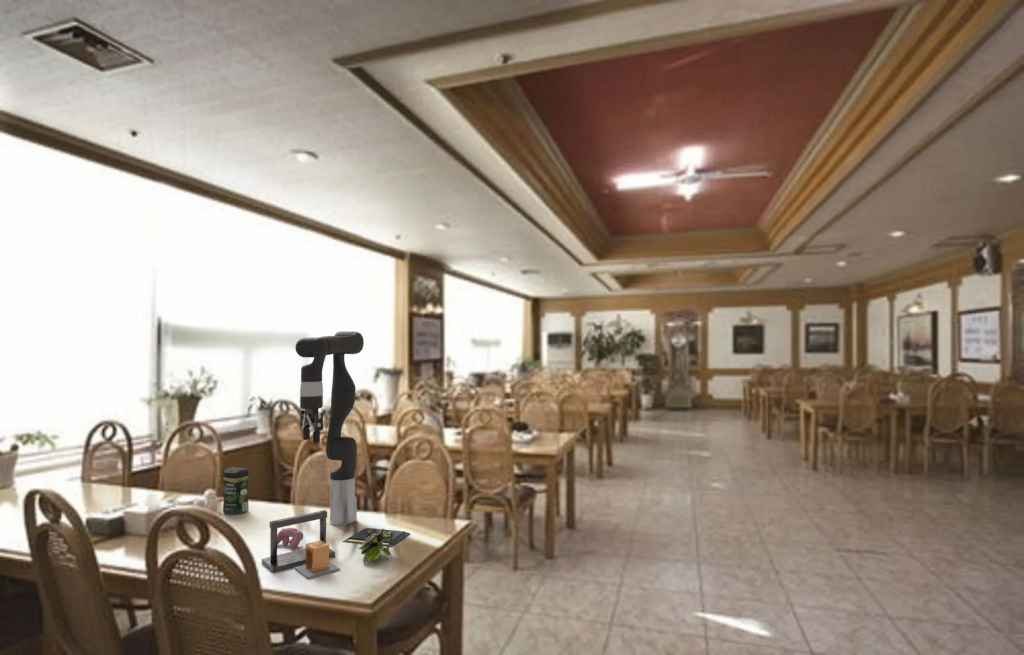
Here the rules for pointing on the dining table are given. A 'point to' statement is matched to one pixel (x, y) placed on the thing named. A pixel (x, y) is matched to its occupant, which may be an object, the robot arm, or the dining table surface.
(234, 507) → the coffee jar
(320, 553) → the copper link
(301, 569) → the mat
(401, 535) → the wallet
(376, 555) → the green leafy plant
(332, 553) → the hanger stand
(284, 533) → the pink animal figurine
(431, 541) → the dining table surface
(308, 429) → the robot arm
